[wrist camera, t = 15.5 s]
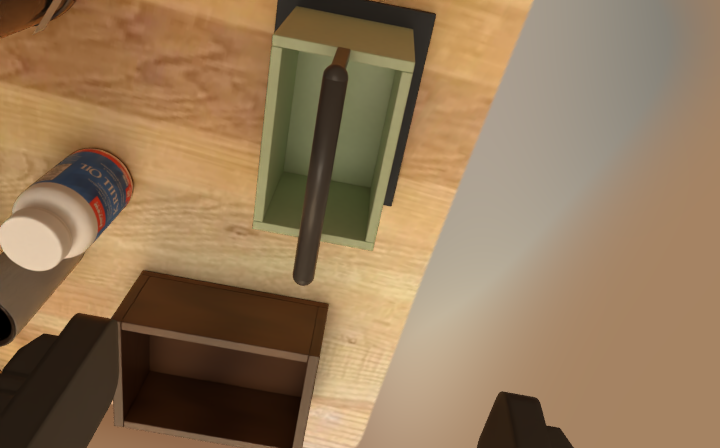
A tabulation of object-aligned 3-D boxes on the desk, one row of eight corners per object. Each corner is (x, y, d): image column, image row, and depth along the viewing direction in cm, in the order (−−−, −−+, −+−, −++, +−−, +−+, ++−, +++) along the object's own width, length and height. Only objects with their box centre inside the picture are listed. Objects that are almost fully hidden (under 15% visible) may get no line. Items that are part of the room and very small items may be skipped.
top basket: (296, 0, 38) (253, 51, 27) (414, 24, 39) (418, 84, 27) (275, 177, 45) (232, 277, 34) (376, 196, 45) (367, 302, 34)
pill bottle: (149, 192, 46) (92, 263, 38) (96, 220, 48) (31, 294, 39) (102, 133, 44) (30, 194, 36) (48, 164, 46) (-32, 229, 37)
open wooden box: (143, 370, 56) (113, 426, 50) (142, 269, 50) (109, 319, 44) (310, 400, 56) (300, 458, 51) (328, 303, 51) (319, 357, 45)
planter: (95, 237, 49) (25, 318, 40) (72, 273, 51) (2, 358, 42) (42, 206, 48) (-41, 282, 39) (21, 244, 50) (-63, 325, 41)
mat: (259, 179, 45) (258, 181, 45) (280, -18, 38) (279, -17, 38) (391, 204, 46) (391, 206, 45) (435, 13, 39) (436, 14, 38)
